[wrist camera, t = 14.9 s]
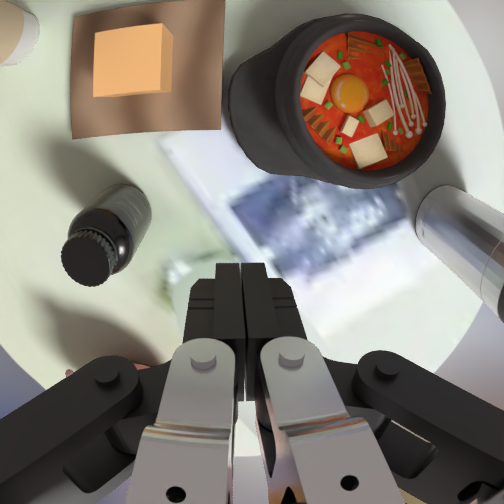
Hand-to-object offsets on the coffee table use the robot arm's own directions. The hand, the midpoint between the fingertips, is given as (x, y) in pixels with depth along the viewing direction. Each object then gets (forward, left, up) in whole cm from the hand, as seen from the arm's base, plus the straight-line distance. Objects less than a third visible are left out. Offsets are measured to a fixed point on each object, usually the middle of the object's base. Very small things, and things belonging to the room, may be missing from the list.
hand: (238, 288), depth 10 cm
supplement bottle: (+12, +6, -25) cm, 29 cm away
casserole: (-12, -7, -25) cm, 29 cm away
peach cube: (+9, -10, -24) cm, 27 cm away
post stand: (+9, -10, -25) cm, 28 cm away
